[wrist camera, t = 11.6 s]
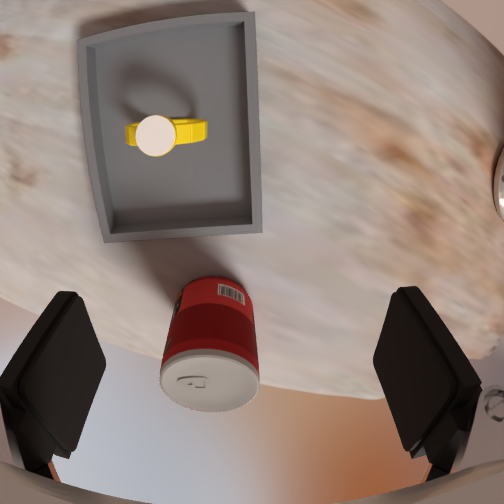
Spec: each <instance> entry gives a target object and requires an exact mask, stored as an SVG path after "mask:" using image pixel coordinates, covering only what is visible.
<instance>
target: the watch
mask: <svg viewBox="0 0 504 504" xmlns="http://www.w3.org/2000/svg"><path fill="white" fill-rule="evenodd" d="M125 135H126V143H127V144H128V145H131V146H138V147H139V149H140V150H141V151H142V152H144V153H145V154H147V155H149V156H155V157H157V156H162V155H164V154H166V153H168V152H169V151H170V150H171V149H172V148H173V147H174V146H175V145H176V144H186V143H193V142H198V141H202V140H204V139H206V138H207V120H204V119H170V118H169V117H167V116H164V115H152V116H149V117H147V118H145V119H144V120H142V122H137V123H132V124H128V125H126V126H125Z"/></svg>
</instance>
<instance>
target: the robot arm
mask: <svg viewBox="0 0 504 504" xmlns="http://www.w3.org/2000/svg"><path fill="white" fill-rule="evenodd" d="M494 200H495V206H496V209H497V212H498V214H499V216H500V218H501V219H502V220H503V221H504V148H503V150H502V152H501V155H500V157H499V160H498V163H497V167H496V172H495V177H494ZM373 364H374V368H375V370H376V373H377V375H378V378H379V381H380V383H381V386H382V389H383V391H384V394H385V397H386V399H387V402H388V405H389V408H390V410H391V413H392V416H393V419H394V422H395V424H396V427H397V430H398V433H399V436H400V438H401V442H402V445H403V448H404V449H405V451H409V452H410V455H411V458H412V459H414V458H417V457H421V456H424V455H427V458H428V460H429V463H428V466H427V468H426V470H425V473H424V475H423V477H422V479H421V481H420V483H419V484H417V485H414V486H411V487H407V488H403V489H399V490H396V491H391V492H388V493H383V494H379V495H375V496H371V497H367V498H361V499H357V500H351V501H345V502H340V503H333V504H504V387H503V386H499V385H490V386H488V387H486V388H485V389H484V390H482V388H481V387H480V384H481V383H482V382H481V380H480V378H479V377H478V375H477V373H476V372H475V370H474V368H473V367H472V366H471V364H470V362H469V360H468V359H467V357H466V356H465V354H464V353H463V351H462V349H461V348H460V346H459V345H458V343H457V342H456V340H455V339H454V337H453V336H452V334H451V333H450V331H449V330H448V328H447V327H446V325H445V324H444V322H443V321H442V320H441V318H440V317H439V315H438V314H437V312H436V311H435V310H434V308H433V307H432V305H431V304H430V303H429V301H428V300H427V299H426V297H425V296H424V294H423V293H422V292H421V290H420V289H419V288H418V287H417V286H409V287H400V288H398V289H397V291H396V292H394V293H393V294H392V296H391V300H390V303H389V307H388V310H387V314H386V317H385V321H384V324H383V328H382V331H381V334H380V337H379V341H378V344H377V347H376V350H375V353H374V356H373ZM105 368H106V360H105V356H104V354H103V352H102V349H101V347H100V344H99V342H98V339H97V337H96V334H95V331H94V329H93V326H92V323H91V321H90V318H89V315H88V312H87V310H86V307H85V304H84V301H83V299H82V298H81V297H80V296H78V294H77V293H76V292H72V291H59V292H58V293H57V294H56V295H55V296H54V298H53V299H52V300H51V302H50V303H49V304H48V306H47V307H46V309H45V310H44V311H43V313H42V314H41V315H40V317H39V319H38V320H37V321H36V323H35V324H34V325H33V327H32V328H31V330H30V331H29V333H28V334H27V336H26V337H25V339H24V340H23V342H22V343H21V345H20V346H19V348H18V349H17V351H16V352H15V354H14V355H13V357H12V359H11V360H10V362H9V364H8V365H7V367H6V368H5V370H4V371H3V373H2V375H1V376H0V504H151V503H145V502H139V501H133V500H128V499H123V498H117V497H113V496H109V495H104V494H100V493H96V492H92V491H88V490H85V489H81V488H78V487H74V486H71V485H68V484H64V483H61V481H60V479H59V477H58V474H57V472H56V470H55V467H54V465H53V462H52V456H53V454H55V455H57V456H60V457H63V458H67V459H69V457H70V455H71V452H73V451H75V449H76V447H77V445H78V442H79V439H80V436H81V432H82V430H83V427H84V424H85V421H86V418H87V416H88V413H89V410H90V407H91V405H92V402H93V399H94V396H95V394H96V391H97V389H98V386H99V383H100V381H101V378H102V376H103V373H104V371H105Z"/></svg>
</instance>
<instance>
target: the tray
mask: <svg viewBox="0 0 504 504" xmlns="http://www.w3.org/2000/svg"><path fill="white" fill-rule="evenodd" d="M78 72H79V88H80V101H81V112H82V121H83V130H84V138H85V145H86V152H87V159H88V166H89V172H90V178H91V183H92V189H93V194H94V199H95V204H96V209H97V214H98V218H99V223H100V227H101V232H102V236H103V240H104V243H110V242H124V241H138V240H152V239H167V238H182V237H197V236H214V235H230V234H248V233H263V230H262V193H261V159H260V129H259V101H258V74H257V49H256V26H255V12H231V13H215V14H204V15H194V16H185V17H178V18H171V19H164V20H158V21H152V22H147V23H142V24H137V25H132V26H128V27H123V28H119V29H115V30H111V31H107V32H103V33H99V34H96V35H92V36H89V37H85V38H82V39H79V40H78ZM152 115H164V116H167V117H169V118H170V119H204V120H207V138H206V139H204V140H202V141H198V142H193V143H186V144H176V145H175V146H174V147H173V148H172V149H171V150H170V151H169V152H168V153H166V154H164V155H162V156H157V157H155V156H149V155H147V154H145V153H144V152H142V151H141V150H140V149H139V147H138V146H131V145H128V144H127V143H126V135H125V126H126V125H128V124H132V123H137V122H142V120H144V119H145V118H147V117H149V116H152Z"/></svg>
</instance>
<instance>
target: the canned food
mask: <svg viewBox="0 0 504 504" xmlns="http://www.w3.org/2000/svg"><path fill="white" fill-rule="evenodd" d="M259 383H260V377H259V363H258V353H257V343H256V333H255V323H254V313H253V305H252V302H251V299H250V297H249V296H248V294H247V293H246V291H245V290H244V289H243V288H242V287H241V286H240V285H239V284H237V283H236V282H234V281H232V280H230V279H226V278H223V277H216V276H210V277H203V278H199V279H196V280H194V281H192V282H191V283H189V284H188V285H187V286H186V287H185V288H184V289H183V290H182V291H181V292H180V294H179V295H178V297H177V300H176V303H175V307H174V311H173V315H172V319H171V323H170V328H169V332H168V336H167V341H166V345H165V350H164V354H163V359H162V364H161V370H160V385H161V388H162V390H163V391H164V393H165V394H166V395H167V396H168V397H169V398H170V399H171V400H173V401H174V402H176V403H177V404H179V405H181V406H184V407H186V408H190V409H192V410H197V411H203V412H225V411H230V410H235V409H237V408H240V407H243V406H244V405H246V404H248V403H249V402H250V401H252V400H253V399H254V398H255V396H256V395H257V393H258V390H259Z"/></svg>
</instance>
